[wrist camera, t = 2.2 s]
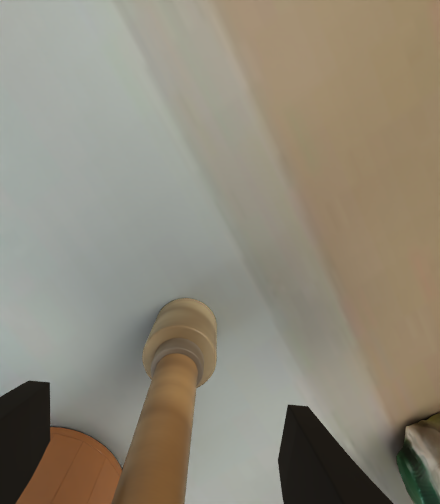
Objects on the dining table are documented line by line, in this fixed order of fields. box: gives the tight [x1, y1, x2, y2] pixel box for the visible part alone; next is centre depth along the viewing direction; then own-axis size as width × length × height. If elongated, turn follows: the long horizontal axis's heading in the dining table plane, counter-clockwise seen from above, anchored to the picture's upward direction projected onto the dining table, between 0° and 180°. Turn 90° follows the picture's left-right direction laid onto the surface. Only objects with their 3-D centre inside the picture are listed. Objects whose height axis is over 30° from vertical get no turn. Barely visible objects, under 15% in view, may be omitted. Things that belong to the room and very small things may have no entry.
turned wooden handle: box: [111, 298, 217, 504], centre depth 11 cm, size 3×3×10 cm
